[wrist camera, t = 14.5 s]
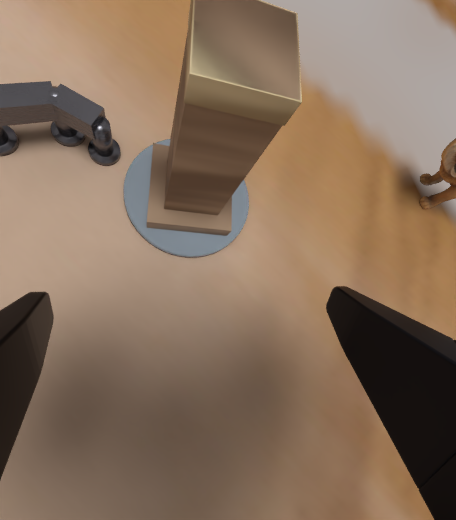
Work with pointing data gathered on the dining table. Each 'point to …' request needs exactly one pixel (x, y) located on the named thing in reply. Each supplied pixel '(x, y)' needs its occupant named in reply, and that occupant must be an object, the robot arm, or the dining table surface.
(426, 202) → the lion figurine
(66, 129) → the dark grey legged piece
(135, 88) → the dining table surface
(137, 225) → the mat
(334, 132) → the dining table surface
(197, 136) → the square column on plinth
